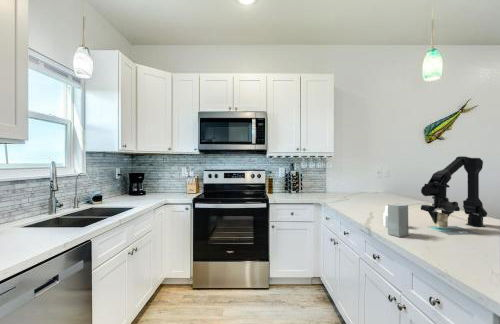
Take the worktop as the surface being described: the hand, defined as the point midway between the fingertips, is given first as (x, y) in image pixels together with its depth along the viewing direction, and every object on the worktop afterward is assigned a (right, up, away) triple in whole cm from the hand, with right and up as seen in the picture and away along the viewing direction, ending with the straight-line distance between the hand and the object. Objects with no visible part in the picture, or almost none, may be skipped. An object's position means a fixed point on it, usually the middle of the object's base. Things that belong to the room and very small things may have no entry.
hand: (439, 223), depth 149 cm
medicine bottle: (-24, -3, +6) cm, 25 cm away
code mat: (+5, -3, -3) cm, 7 cm away
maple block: (0, -2, 0) cm, 2 cm away
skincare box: (-29, -4, -11) cm, 32 cm away
